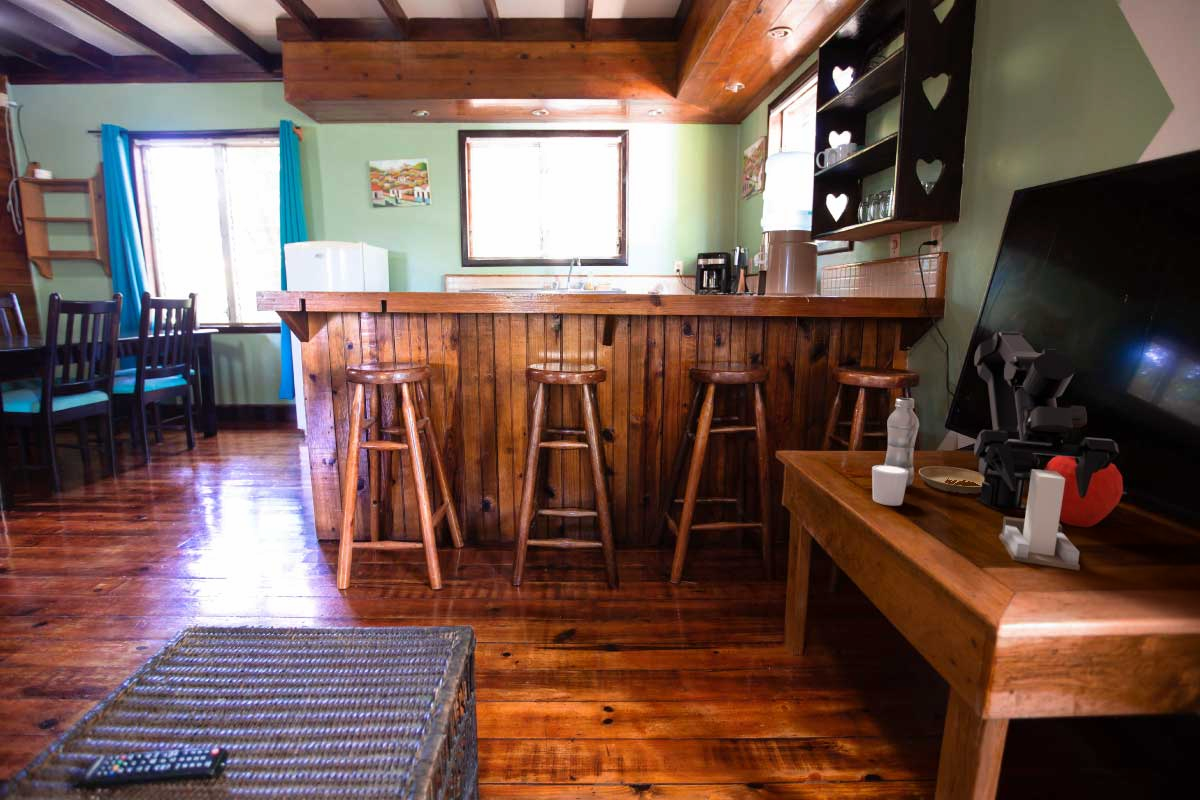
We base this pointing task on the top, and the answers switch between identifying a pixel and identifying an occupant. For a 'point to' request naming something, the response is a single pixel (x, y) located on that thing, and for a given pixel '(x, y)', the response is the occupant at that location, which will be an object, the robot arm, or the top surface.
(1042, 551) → the white rectangular block
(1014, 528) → the sill track
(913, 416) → the plastic bottle
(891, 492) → the white cup
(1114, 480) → the apple
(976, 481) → the plant saucer
